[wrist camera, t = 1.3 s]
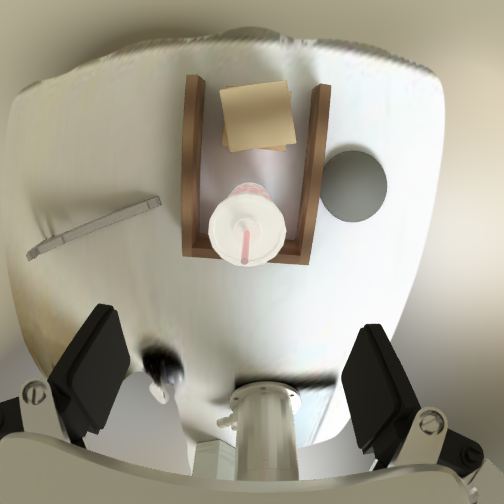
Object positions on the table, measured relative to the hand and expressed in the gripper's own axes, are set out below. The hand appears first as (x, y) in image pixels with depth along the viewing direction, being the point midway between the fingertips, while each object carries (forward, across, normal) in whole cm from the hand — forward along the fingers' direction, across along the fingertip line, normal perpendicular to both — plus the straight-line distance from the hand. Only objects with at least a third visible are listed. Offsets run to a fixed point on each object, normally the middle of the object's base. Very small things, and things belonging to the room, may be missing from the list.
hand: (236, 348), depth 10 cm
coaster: (+22, -11, -2) cm, 25 cm away
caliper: (+22, +20, +4) cm, 30 cm away
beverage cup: (+22, 0, 0) cm, 22 cm away
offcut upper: (+19, 0, -9) cm, 21 cm away
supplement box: (+21, +4, +59) cm, 62 cm away
